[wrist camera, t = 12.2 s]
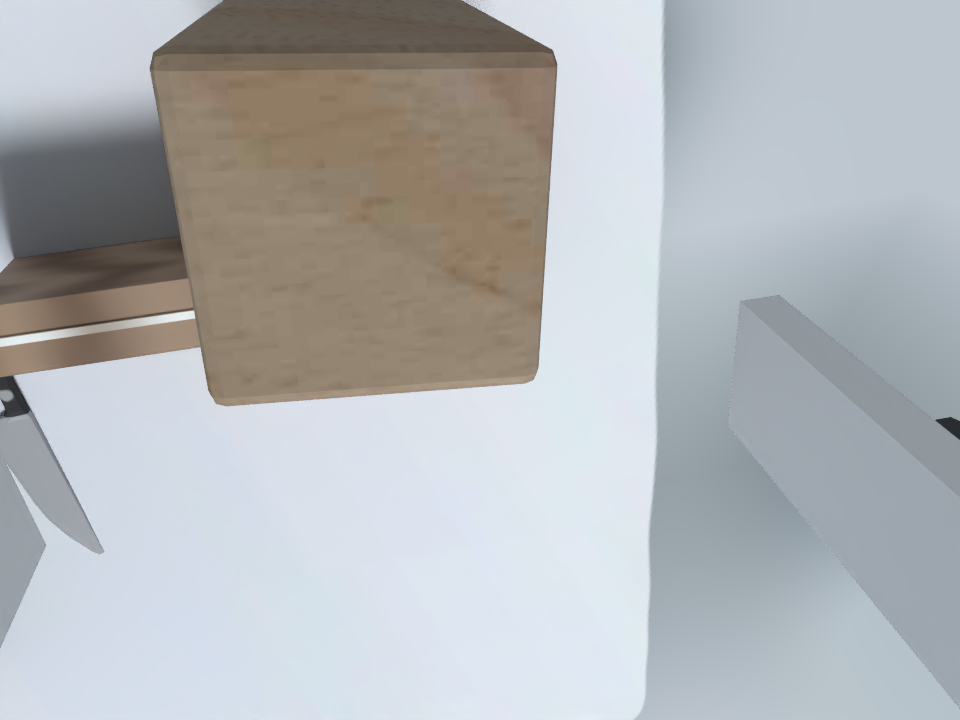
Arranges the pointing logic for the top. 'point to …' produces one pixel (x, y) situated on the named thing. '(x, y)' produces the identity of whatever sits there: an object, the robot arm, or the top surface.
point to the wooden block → (359, 195)
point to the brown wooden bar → (95, 306)
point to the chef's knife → (40, 468)
